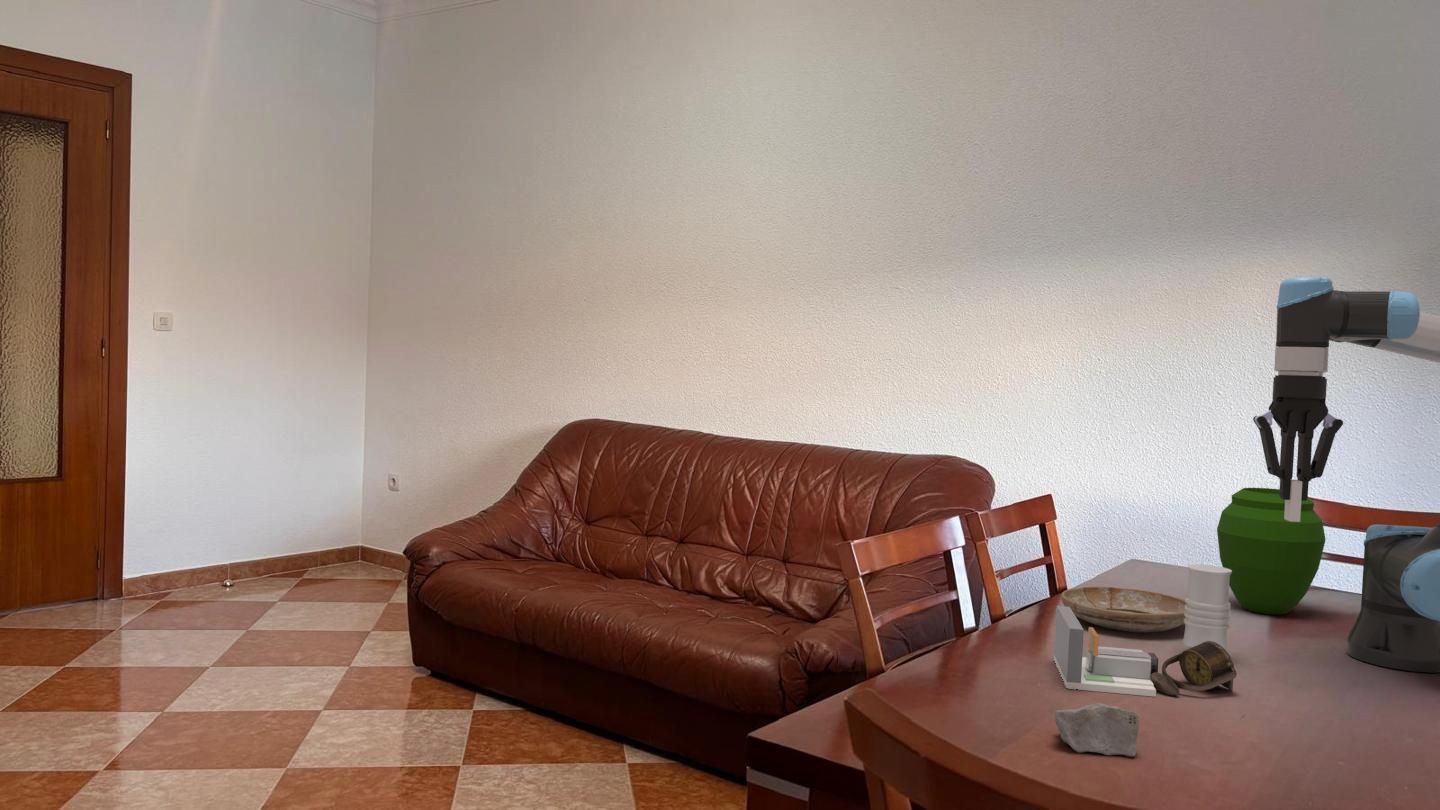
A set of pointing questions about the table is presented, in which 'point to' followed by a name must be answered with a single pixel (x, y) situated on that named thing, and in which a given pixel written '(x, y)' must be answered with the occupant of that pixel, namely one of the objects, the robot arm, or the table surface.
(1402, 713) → the table surface
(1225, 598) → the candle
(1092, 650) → the grey metal bar
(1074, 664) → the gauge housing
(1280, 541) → the vase
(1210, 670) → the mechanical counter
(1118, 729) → the stone
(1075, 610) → the ceramic bowl
